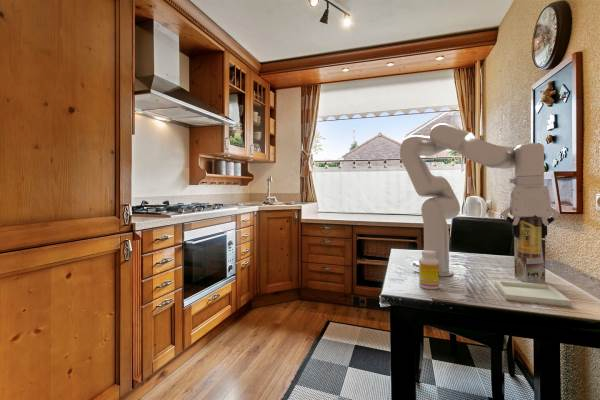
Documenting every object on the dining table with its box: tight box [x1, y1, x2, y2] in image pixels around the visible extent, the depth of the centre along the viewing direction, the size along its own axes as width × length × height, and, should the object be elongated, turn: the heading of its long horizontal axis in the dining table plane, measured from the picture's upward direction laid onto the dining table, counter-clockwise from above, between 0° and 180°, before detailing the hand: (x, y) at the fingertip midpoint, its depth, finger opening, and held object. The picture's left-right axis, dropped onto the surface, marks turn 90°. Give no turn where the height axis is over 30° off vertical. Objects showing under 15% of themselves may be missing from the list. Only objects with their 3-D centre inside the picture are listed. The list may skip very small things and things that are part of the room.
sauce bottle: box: [517, 215, 543, 258], centre depth 97 cm, size 6×6×20 cm
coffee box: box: [513, 237, 546, 284], centre depth 113 cm, size 9×6×16 cm
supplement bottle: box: [418, 249, 440, 290], centre depth 108 cm, size 7×7×13 cm
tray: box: [494, 279, 572, 308], centre depth 98 cm, size 16×16×2 cm
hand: (529, 236), depth 97 cm, fingers closed on sauce bottle, 6 cm apart
